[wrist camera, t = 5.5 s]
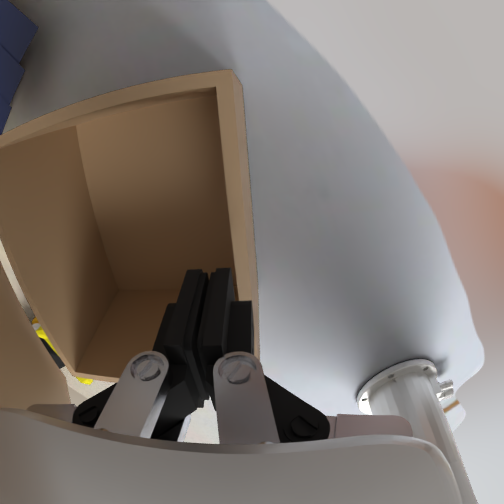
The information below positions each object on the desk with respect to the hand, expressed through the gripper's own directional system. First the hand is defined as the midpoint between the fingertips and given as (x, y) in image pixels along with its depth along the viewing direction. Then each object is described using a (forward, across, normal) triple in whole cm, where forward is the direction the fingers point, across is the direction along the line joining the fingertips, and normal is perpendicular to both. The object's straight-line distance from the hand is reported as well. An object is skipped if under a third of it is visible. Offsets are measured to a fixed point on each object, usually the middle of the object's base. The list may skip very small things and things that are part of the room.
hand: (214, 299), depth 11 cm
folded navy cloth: (+13, +31, -15) cm, 37 cm away
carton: (+13, +6, 0) cm, 14 cm away
